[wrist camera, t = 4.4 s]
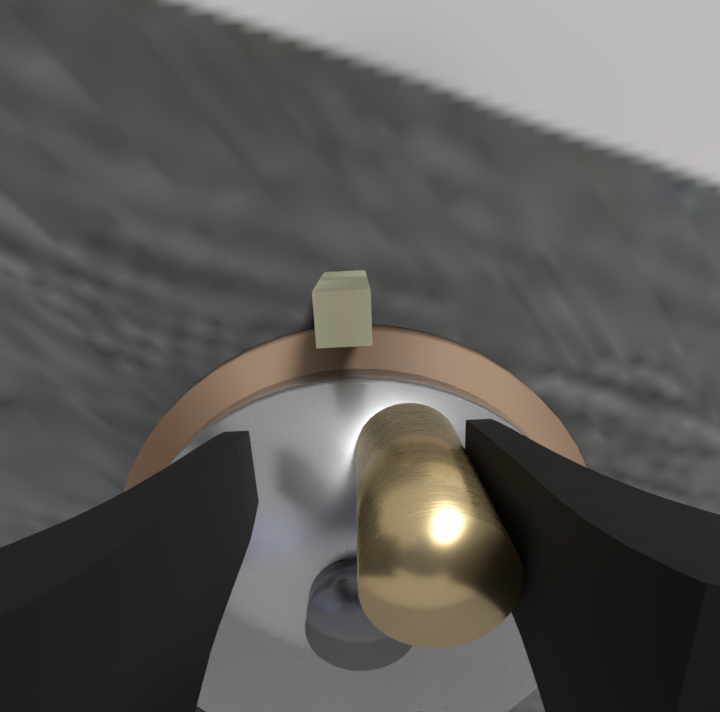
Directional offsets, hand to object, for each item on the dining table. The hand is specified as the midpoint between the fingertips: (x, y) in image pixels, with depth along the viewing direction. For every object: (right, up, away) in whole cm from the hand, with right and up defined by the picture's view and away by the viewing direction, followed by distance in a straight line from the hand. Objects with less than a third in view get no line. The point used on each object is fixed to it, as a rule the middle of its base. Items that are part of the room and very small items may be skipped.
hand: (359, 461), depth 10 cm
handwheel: (0, -4, +4) cm, 6 cm away
